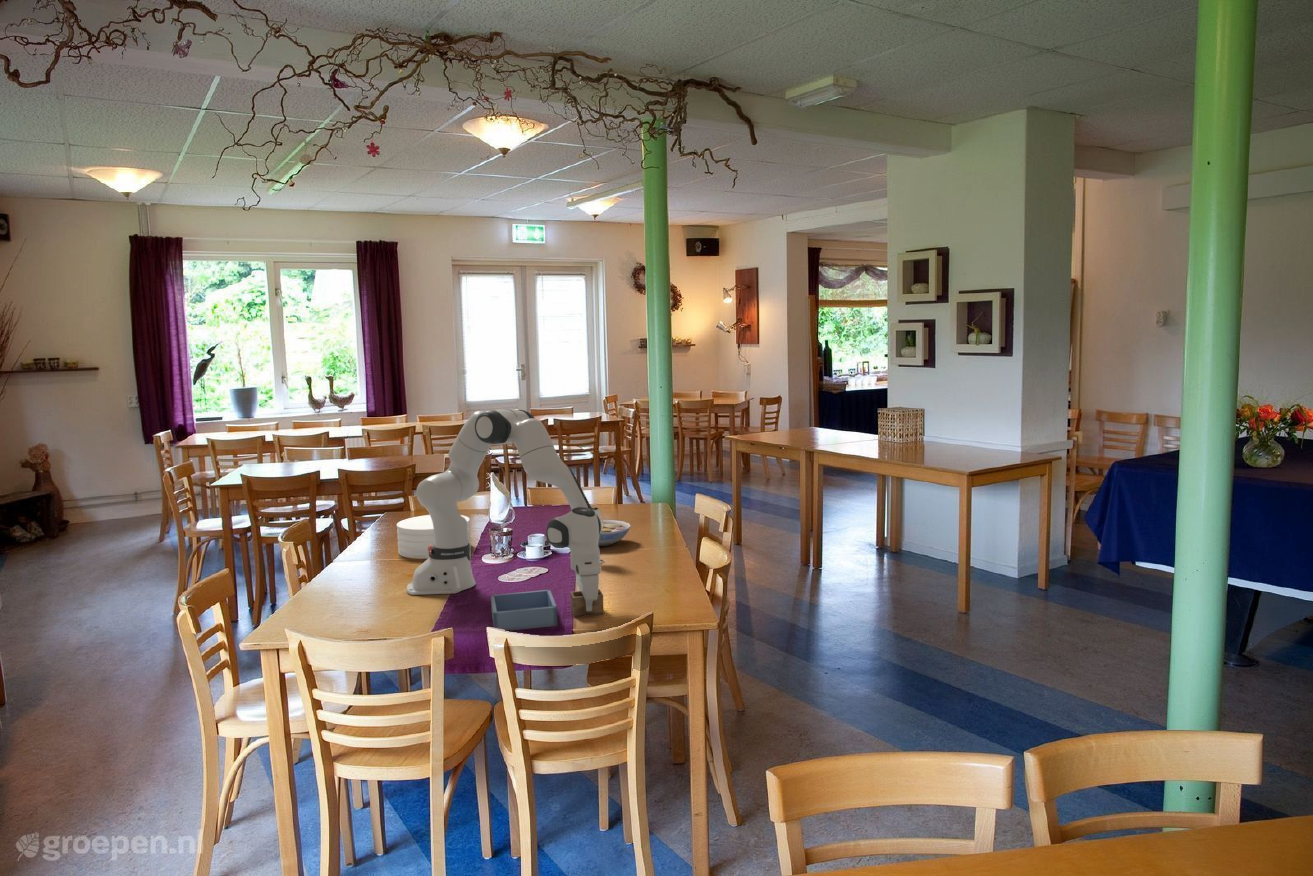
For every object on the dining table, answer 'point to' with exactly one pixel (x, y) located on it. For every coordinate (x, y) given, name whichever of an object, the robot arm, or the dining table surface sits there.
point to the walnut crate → (579, 605)
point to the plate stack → (418, 536)
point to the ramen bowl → (612, 532)
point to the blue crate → (524, 610)
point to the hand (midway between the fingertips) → (587, 606)
